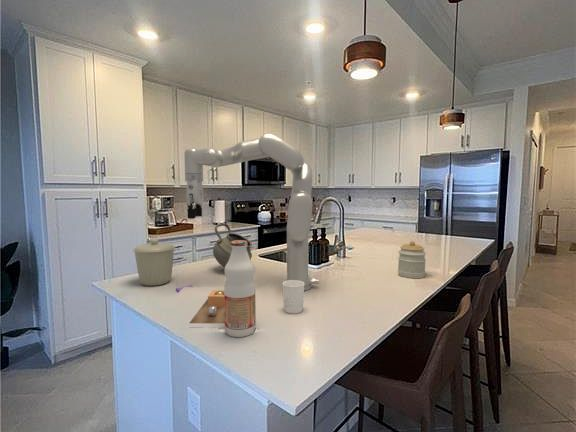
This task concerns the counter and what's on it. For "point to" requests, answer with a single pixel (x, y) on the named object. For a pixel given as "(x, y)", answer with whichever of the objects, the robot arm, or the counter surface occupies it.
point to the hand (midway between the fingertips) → (195, 217)
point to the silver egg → (212, 311)
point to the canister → (154, 262)
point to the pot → (227, 246)
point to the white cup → (293, 296)
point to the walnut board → (203, 315)
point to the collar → (216, 299)
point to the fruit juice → (239, 292)
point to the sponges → (182, 288)
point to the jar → (411, 261)
